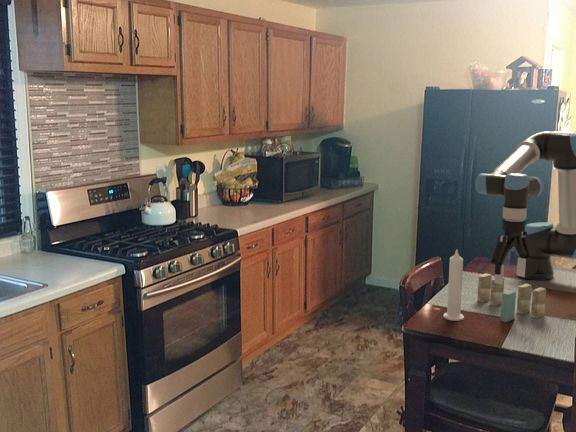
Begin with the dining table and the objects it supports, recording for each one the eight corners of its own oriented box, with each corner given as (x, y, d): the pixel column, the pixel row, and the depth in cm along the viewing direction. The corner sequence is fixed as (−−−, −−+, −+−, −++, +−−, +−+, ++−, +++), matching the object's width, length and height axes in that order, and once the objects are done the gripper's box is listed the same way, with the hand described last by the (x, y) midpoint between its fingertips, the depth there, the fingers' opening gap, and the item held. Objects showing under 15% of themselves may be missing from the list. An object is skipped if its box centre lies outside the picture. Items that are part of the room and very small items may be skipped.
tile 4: (489, 304, 221) (491, 279, 219) (497, 301, 224) (499, 276, 222) (495, 306, 219) (496, 280, 217) (502, 303, 222) (504, 278, 220)
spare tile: (500, 320, 205) (502, 293, 203) (508, 317, 208) (510, 290, 206) (506, 322, 204) (507, 294, 202) (514, 318, 207) (516, 291, 205)
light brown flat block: (477, 300, 225) (478, 275, 223) (485, 298, 228) (486, 273, 226) (482, 302, 223) (483, 277, 221) (490, 299, 226) (491, 274, 224)
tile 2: (516, 312, 212) (518, 286, 210) (524, 309, 215) (526, 283, 213) (522, 314, 211) (524, 287, 209) (529, 311, 214) (531, 285, 212)
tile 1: (530, 317, 208) (532, 290, 206) (538, 313, 211) (540, 287, 209) (536, 318, 206) (538, 291, 204) (544, 315, 209) (546, 288, 207)
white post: (453, 322, 204) (456, 252, 199) (439, 316, 210) (442, 248, 205) (468, 318, 207) (471, 250, 202) (454, 312, 213) (457, 245, 208)
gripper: (524, 213, 209) (519, 271, 213) (482, 222, 194) (478, 283, 198) (544, 216, 204) (539, 275, 207) (503, 225, 189) (498, 289, 192)
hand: (509, 279), depth 203 cm, fingers open, 13 cm apart
